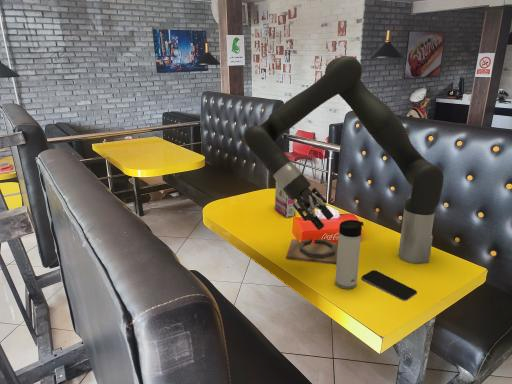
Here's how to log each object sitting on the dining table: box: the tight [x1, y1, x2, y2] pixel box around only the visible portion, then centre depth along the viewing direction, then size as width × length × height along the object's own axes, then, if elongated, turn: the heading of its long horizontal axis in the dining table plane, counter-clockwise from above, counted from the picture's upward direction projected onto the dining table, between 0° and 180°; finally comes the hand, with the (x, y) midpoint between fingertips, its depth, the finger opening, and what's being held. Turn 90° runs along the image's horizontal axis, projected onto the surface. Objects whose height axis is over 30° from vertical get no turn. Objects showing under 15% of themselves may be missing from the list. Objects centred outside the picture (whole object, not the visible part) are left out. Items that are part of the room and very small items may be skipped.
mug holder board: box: [285, 238, 338, 265], centre depth 129 cm, size 20×14×2 cm
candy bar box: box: [274, 181, 297, 219], centre depth 163 cm, size 11×5×16 cm, turn 23°
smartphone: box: [361, 269, 418, 302], centre depth 110 cm, size 7×1×15 cm
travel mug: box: [334, 219, 364, 290], centre depth 108 cm, size 6×7×20 cm
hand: (326, 223), depth 109 cm, fingers open, 8 cm apart
